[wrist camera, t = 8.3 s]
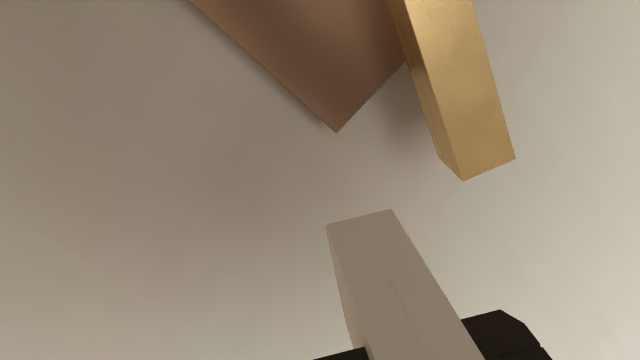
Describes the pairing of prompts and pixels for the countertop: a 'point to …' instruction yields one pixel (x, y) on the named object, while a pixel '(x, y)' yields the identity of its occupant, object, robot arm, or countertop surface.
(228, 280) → the countertop surface
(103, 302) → the countertop surface
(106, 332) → the countertop surface
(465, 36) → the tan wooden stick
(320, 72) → the base
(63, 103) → the countertop surface
